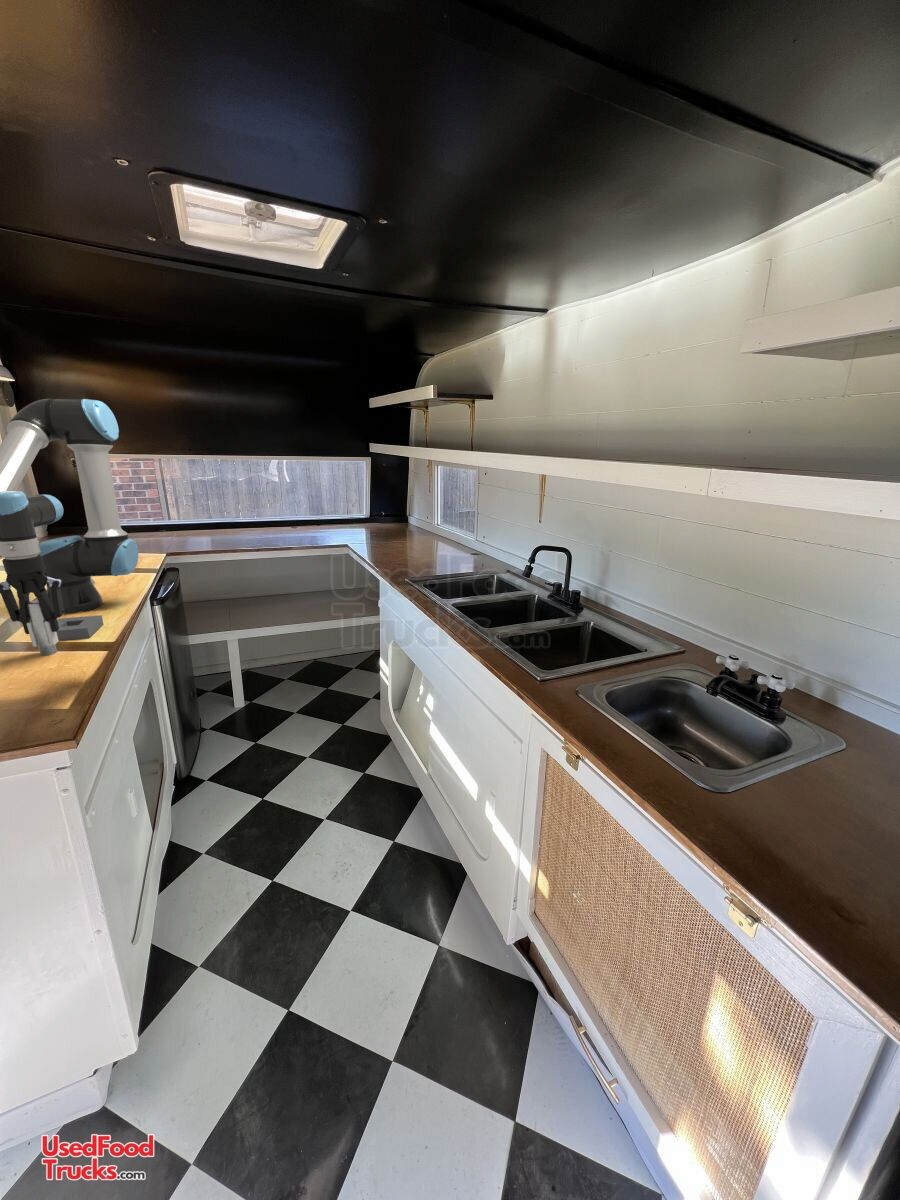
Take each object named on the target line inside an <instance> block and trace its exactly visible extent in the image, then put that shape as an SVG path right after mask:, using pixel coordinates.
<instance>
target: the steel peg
mask: <svg viewBox="0 0 900 1200" xmlns="http://www.w3.org/2000/svg"><path fill="white" fill-rule="evenodd" d="M26 604H27V608H28V611H29V615H30V618H31V619H30V620H31V622H32V626H33V629H34V633H35V636H36V640H37V643H38V646H37V647H38V650H39V653H40V656H50V655H53V654H56V653H58V649H57V645H56V644H55V645H50V641H49V637H48V634H47V630H46V627H45V623H44V622H45V621H46V620H47V618H46V616H45V614H44V611H43V609H42V607H41V605H40V603H39V601H38V599H35V600H31V601H30V602H28V603H26Z"/></svg>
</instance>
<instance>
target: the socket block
mask: <svg viewBox="0 0 900 1200" xmlns="http://www.w3.org/2000/svg"><path fill="white" fill-rule="evenodd" d="M57 621H58V625H59V630H58V631H57V632H56V633H57V637H58V640H59V641H58V642H61V641H71V640H72V641H73V640H82V639H83V640H84V639H90V638H91V637H92V636H94V634H95V633H97V631H99V629H101V628H102V627H103V626H104V619H103V616H102V614H100V615H87V616H86V615H85V616H76V617H74V616H73V617H63V618H62V617H59V618H57Z"/></svg>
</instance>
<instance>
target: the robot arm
mask: <svg viewBox="0 0 900 1200" xmlns="http://www.w3.org/2000/svg"><path fill="white" fill-rule="evenodd" d="M6 432H7V434H6V436H5V437H4V439H3V440H2V442H1V444H0V556H1V557H2V558H3V559H2V561H1V562H2V565H3V568H4V572H5V574H6V579H5V581H2V582H0V595H1V598H2V601H3V603H4V606H5V608H6V610H7V613H8V615H9V618H10V620H11V622H20V623H21V624H22V627H23V632H24V633H25V634H26V635H29V637H30V641H31V644H32V647H33V648H36V647H38V643H37V640H36V636H35V633H34V629H33V626H32V622H31V618H30V615H29V611H28V608H27V604H26V603H28V602H31V601H30V600H31V599H30V594H31V593H32V594H33V595H34V596H35V597H36V600H38V601H39V603H40V605H41V607H42V609H43V611H44V614H45V616H46V618H47V620H46V621H45V622H44V623H45V627H46V630H47V634H48V637H49V641H50V645H56V644H57V643H58V642H60V641H59V640H58V637H57V633H56V632H57V631H58V630H59V625H58V621H57V619H60V618H62V616H63V615H71V614H78V613H82V612H87V611H90V610H93V609H96V608H98V607H101V606H102V605H103V603H104V602H103V598H102V596H101V594H100V593H99V591H98V590H97V588H96V587H95V585H94V583H93V584H92V582H91V578H92V577H108V576H110V577H113V576H114V577H118V576H128V575H130V574H132V573H133V572H134V570H135V569H136V567H137V565H138V561H139V548H138V545H137V543H136V541H135V540H133V539H130V538H129V535H128V532H126V530H123V529H122V526H121V521H120V515H119V508H118V502H117V498H116V490H115V484H114V479H113V472H112V467H111V461H110V455H109V452H110V451H111V450H112V449H113V447H114V445H113V442H114V441H117V439H119V436H120V435H119V433H120V430H119V425H118V421H117V419H116V416H115V415H114V413H113V410H111V409H110V407H109V406H108V405H107V404H106V403H104V402H103V401H102V400H101V401H100V400H96V399H88V398H83V399H82V398H68V399H67V398H43V399H38V400H35V401H33V402H31V403H29V404H27V405H26V406H24V407H22V409H20V410H18V412H17V413H16V414H15V415H13V417H12V418H11V419H10V420H9V422H8V423H7V425H6ZM57 440H58V441H60V440H61V441H65V443H66V446H67V447H68V448H69V449H71V450H72V451H73V452H74V453H73V454H74V457H75V464H76V468H77V474H78V481H79V484H80V485H79V486H80V490H81V491H80V492H81V494H82V501H83V506H84V511H85V512H84V513H85V518H86V522H87V527H88V530H87V532H86V533H85V534H84V535H83V538H82V536H80V535H70V536H69V535H68V536H67V535H66V536H63V537H61V536H60V537H56V538H52V539H48V540H43V541H42V542H39V541H38V536H37V532H36V529H35V528H37V527H42V526H45V525H51V524H54V523H55V522H58V521H60V520H61V519H62V517H63V515H64V507H63V505H62V502H61V501H60V500H59V499H58V498H56V497H55V496H53V495H51V494H35V495H26V493H24V492H23V491H19V490H18V488H19V487H20V484H21V483H22V481H23V479H24V478H25V476H26V474H27V472H28V471H29V469H30V467H31V465H32V464H33V462H34V460H35V459H36V456H37V455H38V453H39V451H40V450H42V449H45V448H47V447H48V445H49V443H50V442H52V441H53V442H54V441H57ZM83 539H84V540H83ZM90 576H91V578H90ZM11 588H13V589H15V590H16V596H17V598H18V603H17V599H16V597H15V595H14V593H13V590H12V589H11Z"/></svg>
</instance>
